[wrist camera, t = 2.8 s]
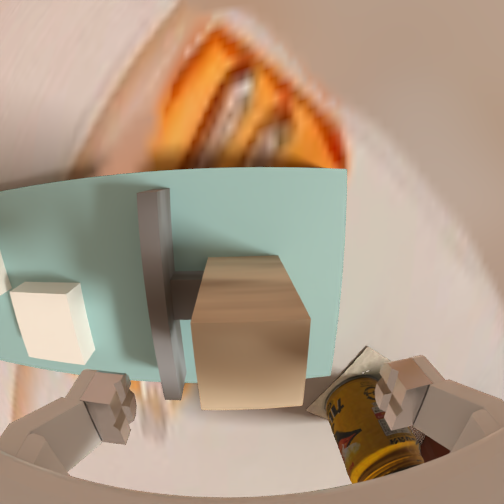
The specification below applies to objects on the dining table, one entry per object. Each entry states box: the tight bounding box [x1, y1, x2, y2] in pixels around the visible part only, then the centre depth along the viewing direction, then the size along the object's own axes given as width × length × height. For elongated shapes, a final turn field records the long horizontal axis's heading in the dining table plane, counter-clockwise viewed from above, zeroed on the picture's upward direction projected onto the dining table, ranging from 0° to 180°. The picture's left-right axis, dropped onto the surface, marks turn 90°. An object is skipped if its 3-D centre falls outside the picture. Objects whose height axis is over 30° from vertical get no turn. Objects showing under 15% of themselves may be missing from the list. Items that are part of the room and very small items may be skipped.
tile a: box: [10, 282, 95, 365], centre depth 17 cm, size 5×5×2 cm
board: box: [0, 167, 347, 383], centre depth 20 cm, size 14×34×4 cm, turn 90°
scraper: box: [137, 188, 311, 410], centre depth 14 cm, size 12×7×8 cm, turn 0°
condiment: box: [306, 347, 424, 484], centre depth 20 cm, size 7×8×12 cm
